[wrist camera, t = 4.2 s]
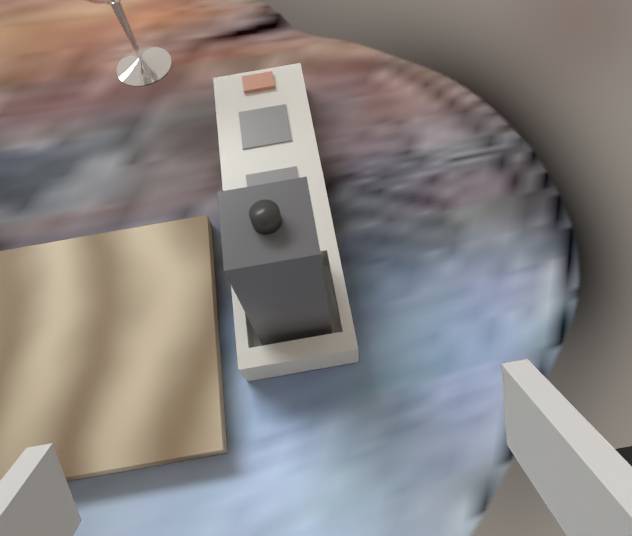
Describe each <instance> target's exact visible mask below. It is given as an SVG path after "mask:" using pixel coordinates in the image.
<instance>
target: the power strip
mask: <svg viewBox="0 0 632 536" xmlns="http://www.w3.org/2000/svg"><path fill="white" fill-rule="evenodd" d="M213 82H214V93H215V105H216V116H217V128H218V140H219V151H220V163H221V174H222V186H223V191H226V190H232V189H238V188H244V187H249V186H255V185H261V184H267V183H272V182H278V181H284V180H290V179H295V178H301V177H307V181H308V187H309V192H310V198H311V203H312V209H313V214H314V220H315V225H316V230H317V236H318V241H319V247H320V252H321V259H322V266H323V273H324V279H325V286H326V293H327V300H328V307H329V314H330V321H331V328H332V334H326V335H320V336H315V337H309V338H303V339H297V340H292V341H286V342H280V343H275V344H269V345H263V346H262V344H261V342H260V340H259V339H258V337H257V335H256V333H255V331H254V329H253V327H252V325H251V323H250V321H249V319H248V317H247V315H246V313H245V311H244V309H243V307H242V305H241V304H240V302H239V300H238V298H237V296H236V294H235V292H234V290H233V288H232V286H231V290H232V301H233V313H234V324H235V336H236V348H237V359H238V370H239V371H240V373H241V374H242V375H243V377H244V378H245V380H246V381H253V380H258V379H264V378H270V377H276V376H281V375H287V374H293V373H298V372H304V371H310V370H316V369H321V368H327V367H333V366H338V365H344V364H350V363H356V362H359V356H358V345H357V340H356V335H355V330H354V325H353V320H352V315H351V310H350V305H349V300H348V295H347V290H346V285H345V281H344V276H343V271H342V266H341V261H340V256H339V251H338V246H337V241H336V236H335V231H334V226H333V221H332V217H331V212H330V207H329V202H328V197H327V192H326V187H325V182H324V177H323V172H322V167H321V162H320V157H319V153H318V148H317V143H316V138H315V133H314V128H313V123H312V118H311V113H310V108H309V103H308V98H307V93H306V89H305V84H304V79H303V74H302V69H301V64H300V63H298V64H292V65H286V66H280V67H274V68H269V69H263V70H257V71H251V72H246V73H240V74H234V75H228V76H223V77H217V78H213Z"/></svg>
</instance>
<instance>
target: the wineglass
mask: <svg viewBox="0 0 632 536" xmlns="http://www.w3.org/2000/svg"><path fill="white" fill-rule="evenodd" d="M84 1H87V2H91V3H96V4H100V3H106V4H109V5H111V7H112V8H113V10H114V12H115V14H116V16H117V18H118V20H119V22H120V24H121V26H122V28H123V30H124V32H125V33H126V35H127V37H128V39H129V41H130V43H131V45H132V47H133V49H134V50H133V51H131V52H129V53H128V54H127V55H125V56H124V57H123V58H122V59H121V61H120V62H119V63H118V66H117V69H116V70H117V76H118V77H119V79H120V80H121V81H122V82H124V83H125V84H128V85H132V86H143V85H147V84H151V83H153V82H155V81H157V80H159V79H161V78H162V77H163V76H164V75H166V73H167V72H168V71H169V69H170V67H171V63H172V60H171V56H170V55H169V53H168V52H167V51H166V50H164V49H162V48H159V47H155V46H149V47H142V48H139V47H138V45H137V42H136V40H135V37H134V35H133V32H132V30H131V27H130V25H129V22H128V20H127V17H126V15H125V12H124V10H123V7H122V5H121V2H120V1H121V0H84Z"/></svg>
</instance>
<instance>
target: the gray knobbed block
mask: <svg viewBox="0 0 632 536" xmlns="http://www.w3.org/2000/svg"><path fill="white" fill-rule="evenodd" d="M217 193H218V205H219V218H220V230H221V242H222V255H223V267H224V272H225V274H226V276H227V278H228V280H229V282H230V284H231V286H232V288H233V290H234V292H235V294H236V296H237V298H238V300H239V302H240V304H241V305H242V307H243V309H244V311H245V313H246V315H247V317H248V319H249V321H250V323H251V325H252V327H253V329H254V331H255V333H256V335H257V337H258V339H259V340H260V342H261V344H262V346H263V345H269V344H275V343H280V342H286V341H292V340H297V339H303V338H309V337H315V336H320V335H326V334H332V328H331V321H330V314H329V307H328V300H327V293H326V286H325V279H324V273H323V266H322V259H321V252H320V247H319V241H318V236H317V230H316V225H315V220H314V214H313V209H312V203H311V198H310V192H309V187H308V181H307V177H301V178H295V179H290V180H284V181H278V182H272V183H267V184H261V185H255V186H249V187H244V188H238V189H232V190H226V191H221V192H217Z"/></svg>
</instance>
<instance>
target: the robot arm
mask: <svg viewBox="0 0 632 536" xmlns="http://www.w3.org/2000/svg"><path fill="white" fill-rule="evenodd" d="M501 368H502V382H503V395H504V409H505V423H506V436H507V445H508V447H509V448H510V450H511V451H512V453H513V455H514V456H515V458H516V459H517V461H518V462H519V464H520V465H521V467H522V468H523V470H524V471H525V473H526V474H527V476H528V477H529V479H530V480H531V482H532V483H533V485H534V486H535V488H536V489H537V491H538V492H539V494H540V496H541V497H542V498H543V500H544V502H545V503H546V505H547V506H548V508H549V509H550V511H551V512H552V514H553V515H554V517H555V518H556V520H557V521H558V523H559V524H560V526H561V527H562V529H563V530H564V532H565V534H566V535H567V536H632V446H630V447H625V448H619V449H614V448H613V447H612V446H611V445H610V444H609V443H608V442H607V441H606V440H605V439H604V438H603V437H602V436H601V435H600V433H599V432H598V431H597V430H596V429H595V428H594V427H593V426H592V425H591V424H590V423H589V422H588V421H587V420H586V419H585V418H584V417H583V416H582V415H581V414H580V413H579V412H578V411H577V410H576V409H575V408H574V407H573V406H572V405H571V404H570V403H569V402H568V401H567V399H565V397H563V395H562V394H561V393H560V392H559V391H558V390H557V389H556V388H555V387H554V386H553V385H552V384H551V383H550V382H549V381H548V380H547V379H546V378H545V377H544V376H543V375H542V374H541V373H540V372H539V371H538V370H537V369H536V368H535V367H534V366H533V364H532V363H531V362H530V361H529V360H528V359H526V360H520V361H515V362H509V363H503V364H501ZM80 521H81V518H80V516H79V513H78V510H77V508H76V505H75V502H74V499H73V497H72V494H71V491H70V489H69V486H68V483H67V481H66V478H65V475H64V472H63V470H62V467H61V464H60V462H59V459H58V456H57V454H56V451H55V448H54V445H53V443H51V444H45V445H39V446H34V447H28V448H26V449H25V450H24V452H23V453H22V454H21V455H20V457H19V458H18V459H17V460H16V462H15V463H14V464H13V465H12V467H11V468H10V469H9V471H8V472H7V473H6V474H5V476H4V477H3V478H2V479H1V481H0V536H73V535H74V533H75V531H76V529H77V527H78V525H79V523H80Z"/></svg>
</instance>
